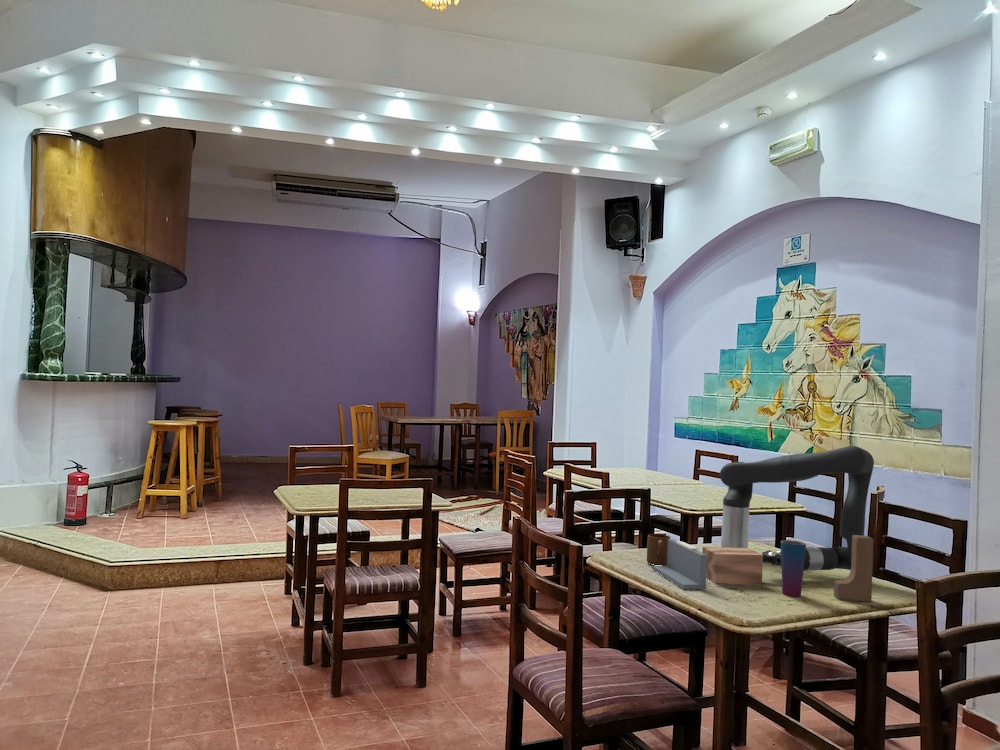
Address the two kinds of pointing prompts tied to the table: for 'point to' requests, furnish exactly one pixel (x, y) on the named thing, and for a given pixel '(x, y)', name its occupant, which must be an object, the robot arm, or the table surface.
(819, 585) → the table surface
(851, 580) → the wooden block
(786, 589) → the cup
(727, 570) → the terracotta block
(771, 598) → the table surface
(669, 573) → the rail
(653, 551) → the mug
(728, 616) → the table surface
